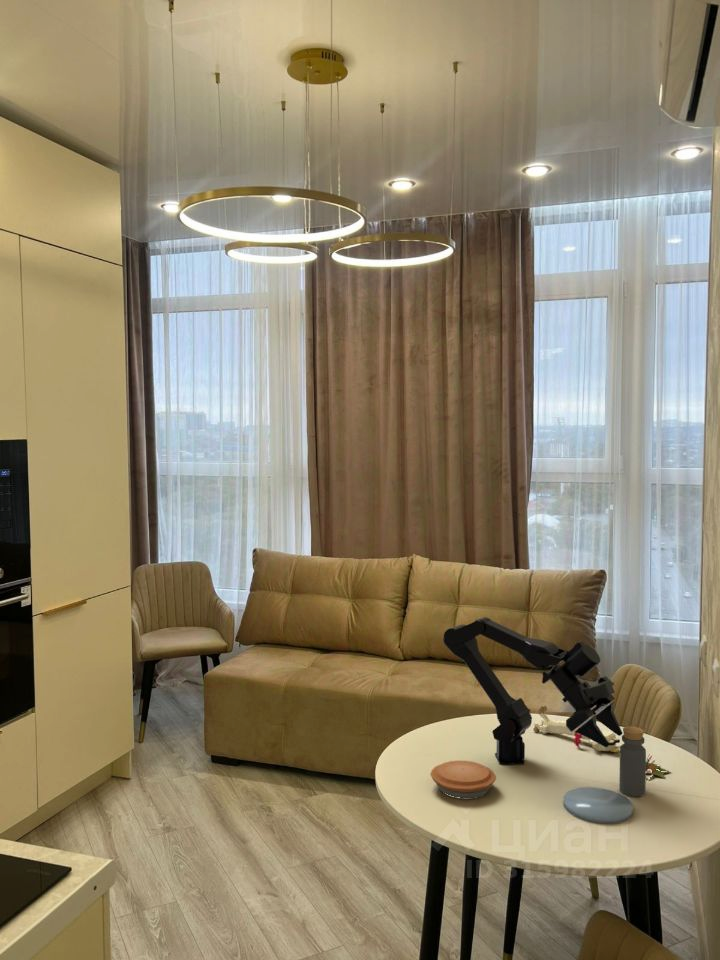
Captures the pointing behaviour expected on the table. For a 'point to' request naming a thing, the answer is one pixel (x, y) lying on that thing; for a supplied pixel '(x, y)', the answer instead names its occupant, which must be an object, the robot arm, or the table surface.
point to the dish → (598, 805)
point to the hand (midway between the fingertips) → (614, 740)
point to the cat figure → (573, 732)
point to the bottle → (632, 763)
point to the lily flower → (654, 769)
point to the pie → (463, 778)
